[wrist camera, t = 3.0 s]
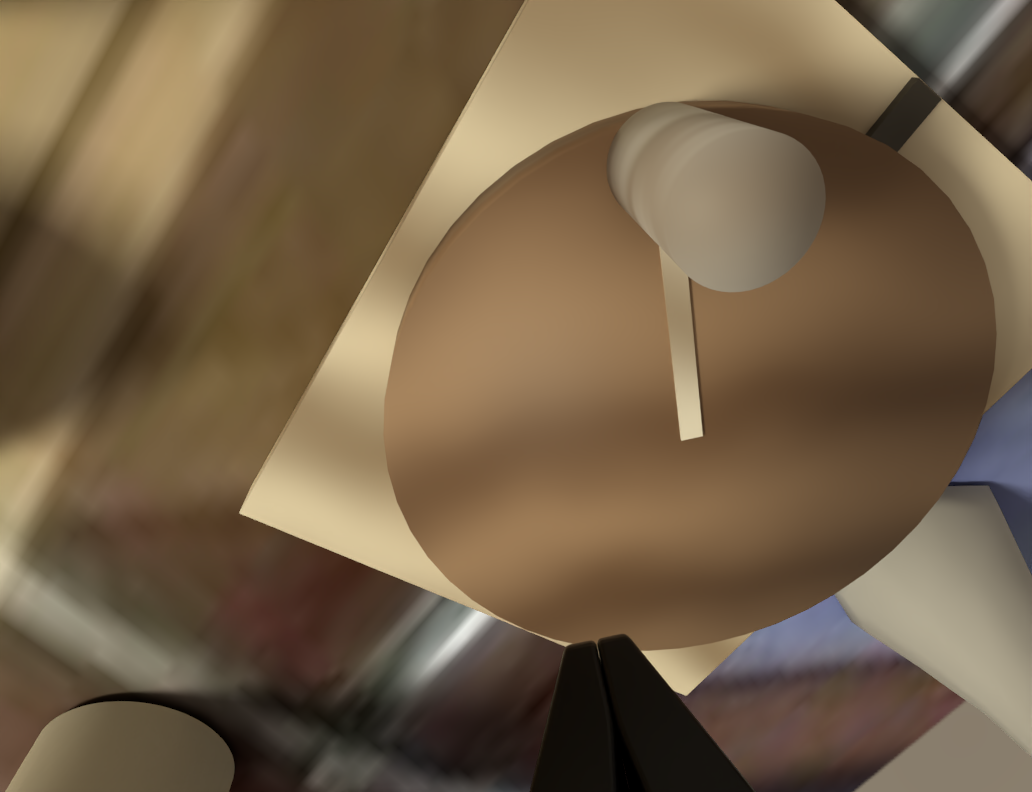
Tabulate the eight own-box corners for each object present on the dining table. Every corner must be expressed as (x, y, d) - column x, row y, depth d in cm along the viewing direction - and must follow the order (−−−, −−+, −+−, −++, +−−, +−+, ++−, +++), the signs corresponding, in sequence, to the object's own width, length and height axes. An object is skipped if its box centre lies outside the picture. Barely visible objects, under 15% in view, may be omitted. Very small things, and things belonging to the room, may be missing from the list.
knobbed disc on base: (924, 550, 24) (1083, 724, 18) (468, 648, 25) (471, 848, 19) (982, 12, 16) (1305, -1, 10) (299, 176, 17) (207, 258, 11)
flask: (1008, 455, 25) (1307, 683, 16) (997, 591, 28) (1239, 840, 20) (816, 508, 26) (1006, 757, 17) (828, 636, 29) (990, 898, 20)
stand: (675, 665, 29) (688, 702, 27) (251, 485, 23) (236, 519, 21) (1090, 258, 21) (1141, 276, 20) (618, -166, 15) (637, -190, 14)
